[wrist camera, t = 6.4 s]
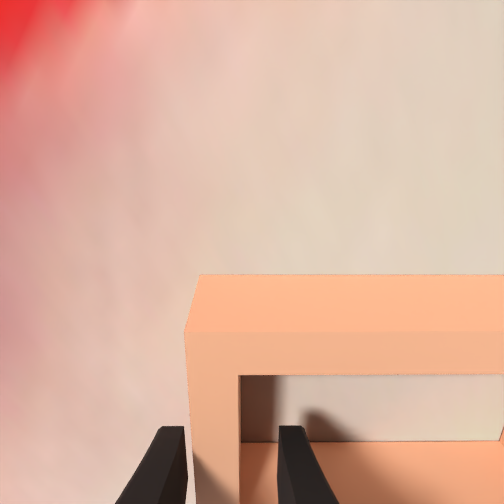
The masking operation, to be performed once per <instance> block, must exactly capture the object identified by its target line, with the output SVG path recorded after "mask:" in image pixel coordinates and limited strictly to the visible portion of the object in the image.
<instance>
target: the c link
mask: <svg viewBox="0 0 504 504" xmlns="http://www.w3.org/2000/svg"><path fill="white" fill-rule="evenodd" d="M184 338H185V352H186V366H187V380H188V394H189V408H190V422H191V436H192V450H193V464H194V478H195V492H196V504H278V490H277V461H278V443H241V379H240V375H388V374H504V275H200V276H199V280H198V283H197V287H196V291H195V294H194V298H193V301H192V305H191V309H190V312H189V316H188V320H187V323H186V327H185V330H184ZM309 443H310V445H311V447H312V450H313V452H314V454H315V457H316V459H317V461H318V463H319V465H320V467H321V469H322V471H323V473H324V475H325V477H326V479H327V481H328V483H329V485H330V487H331V489H332V491H333V493H334V495H335V496H336V498H337V500H338V502H339V504H504V429H503V432H502V435H501V438H500V441H448V442H309Z"/></svg>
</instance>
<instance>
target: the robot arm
mask: <svg viewBox="0 0 504 504" xmlns="http://www.w3.org/2000/svg"><path fill="white" fill-rule="evenodd" d="M187 483H188V471H187V459H186V446H185V434H184V426H162V427H161V428H160V429H158V431H157V433H156V435H155V437H154V439H153V441H152V443H151V445H150V447H149V449H148V450H147V452H146V454H145V456H144V457H143V459H142V461H141V463H140V464H139V466H138V468H137V469H136V471H135V473H134V474H133V476H132V478H131V479H130V481H129V482H128V484H127V486H126V487H125V489H124V490H123V492H122V493H121V495H120V497H119V498H118V500H117V501H116V503H115V504H185V501H186V492H187ZM277 490H278V504H339V502H338V500H337V498H336V496H335V495H334V493H333V491H332V489H331V487H330V485H329V483H328V481H327V479H326V477H325V475H324V473H323V471H322V469H321V467H320V465H319V463H318V461H317V459H316V457H315V454H314V452H313V450H312V447H311V445H310V443H309V440H308V437H307V435H306V432H305V429H304V428H303V427H302V426H279V439H278V461H277Z"/></svg>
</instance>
